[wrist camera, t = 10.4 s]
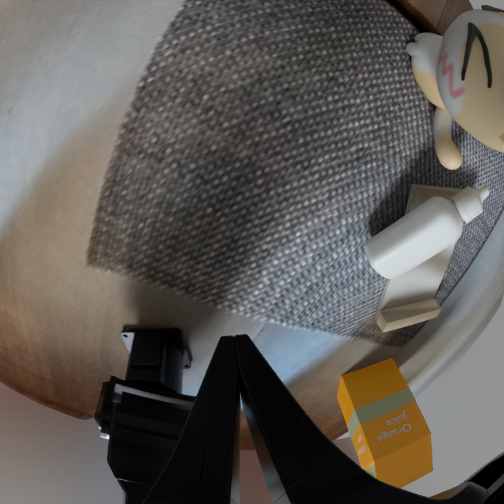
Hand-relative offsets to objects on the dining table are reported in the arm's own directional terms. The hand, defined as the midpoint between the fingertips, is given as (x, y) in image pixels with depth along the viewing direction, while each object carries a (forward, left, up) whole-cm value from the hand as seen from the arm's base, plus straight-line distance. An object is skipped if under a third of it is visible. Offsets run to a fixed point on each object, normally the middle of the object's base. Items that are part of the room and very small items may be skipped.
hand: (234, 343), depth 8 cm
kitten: (+12, -18, -13) cm, 25 cm away
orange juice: (-30, -20, -13) cm, 38 cm away
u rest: (-7, -21, -13) cm, 26 cm away
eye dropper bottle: (-6, -13, -11) cm, 18 cm away
